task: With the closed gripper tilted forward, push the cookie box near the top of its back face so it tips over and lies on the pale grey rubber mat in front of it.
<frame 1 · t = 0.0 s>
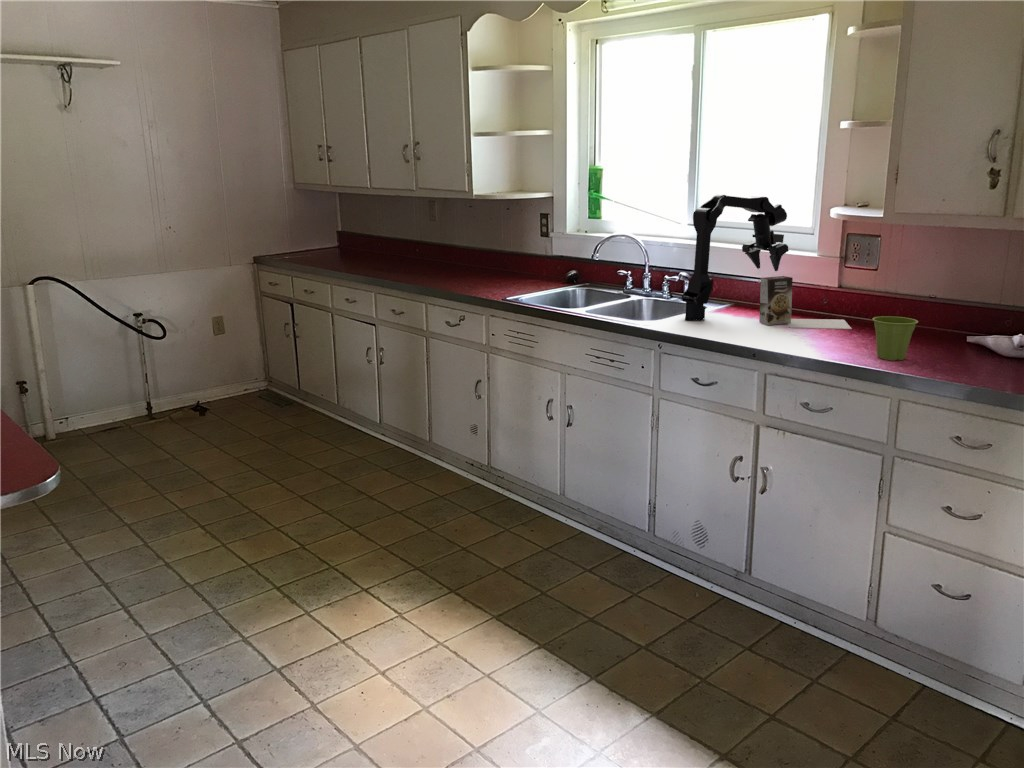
hand: (767, 269, 309), 15 cm above the counter, tool pointing down, fingers open, 9 cm apart
plant pot: (891, 358, 234), on the counter
mat: (817, 324, 284), on the counter
cookie box: (775, 323, 287), on the counter, touching mat
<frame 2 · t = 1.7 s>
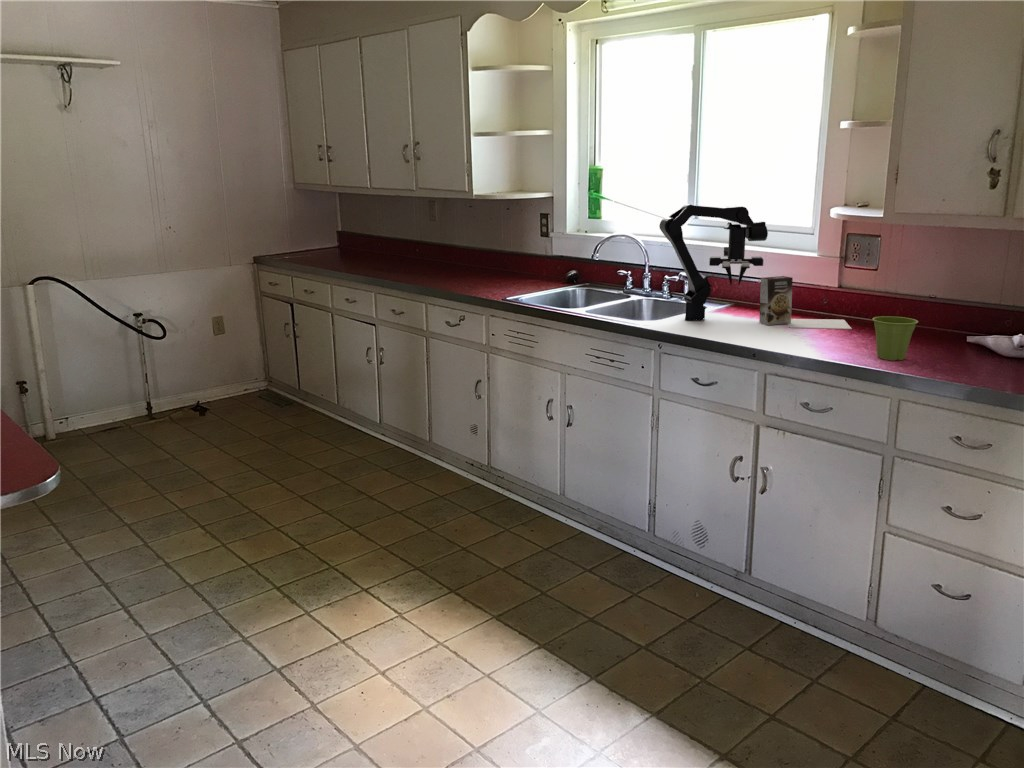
hand: (734, 285, 296), 12 cm above the counter, tool pointing down, fingers closed
nothing on the counter moved.
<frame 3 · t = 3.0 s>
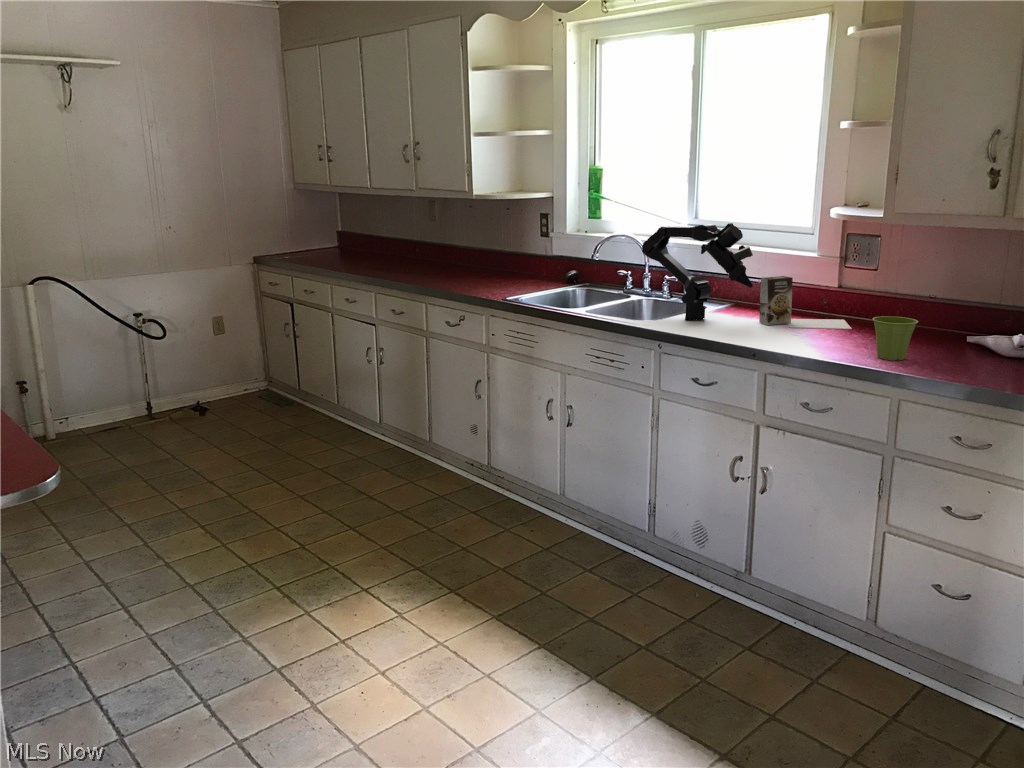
hand: (752, 286, 286), 13 cm above the counter, tool tilted 45°, fingers closed
nothing on the counter moved.
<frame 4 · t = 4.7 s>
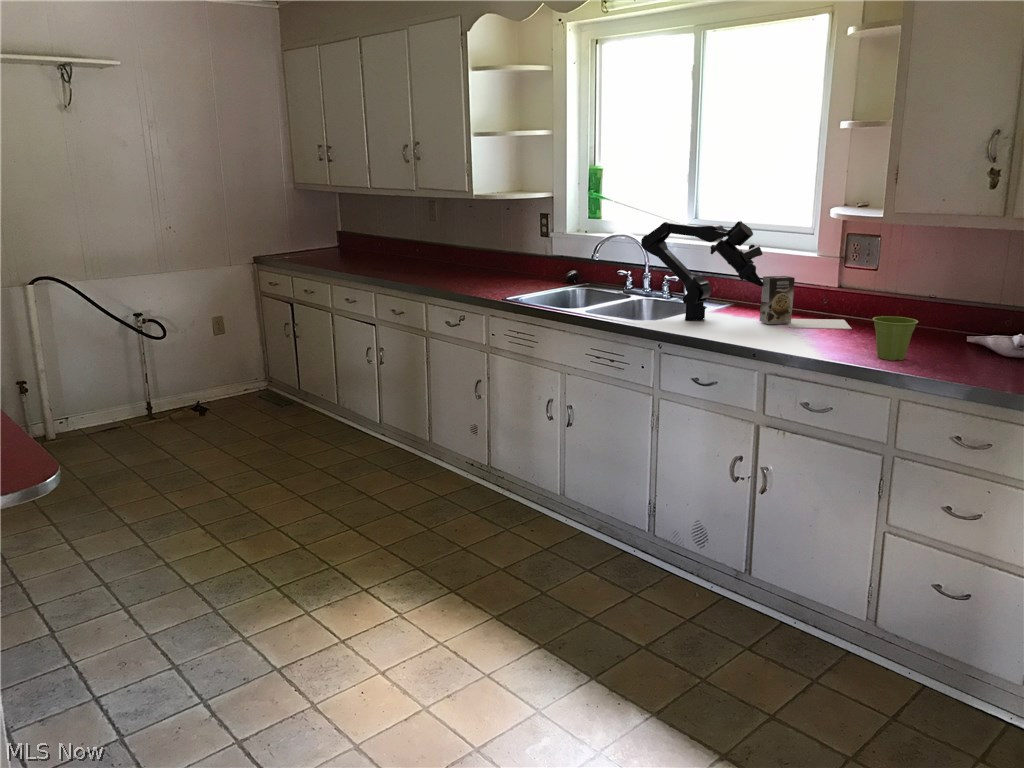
hand: (762, 285, 284), 13 cm above the counter, tool tilted 45°, fingers closed
cookie box: (775, 322, 287), on the counter, touching mat
everything else where it was.
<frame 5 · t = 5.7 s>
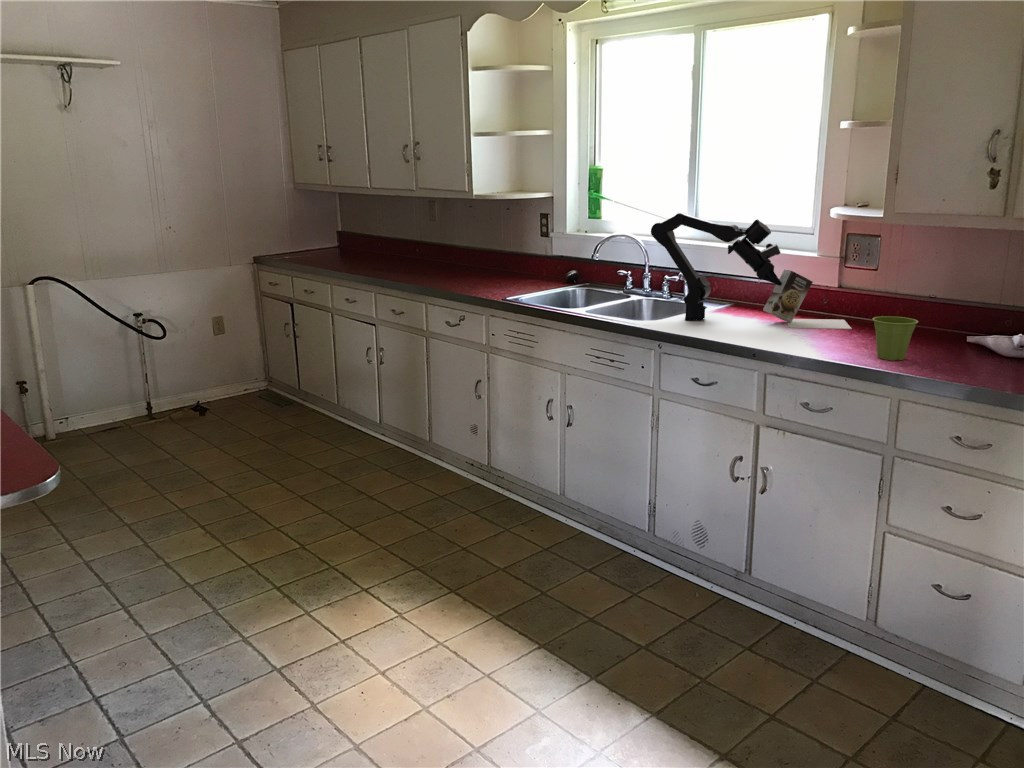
hand: (780, 284, 283), 14 cm above the counter, tool tilted 45°, fingers closed
cookie box: (776, 317, 286), point 2 cm above the counter, touching gripper, mat
everything else where it was.
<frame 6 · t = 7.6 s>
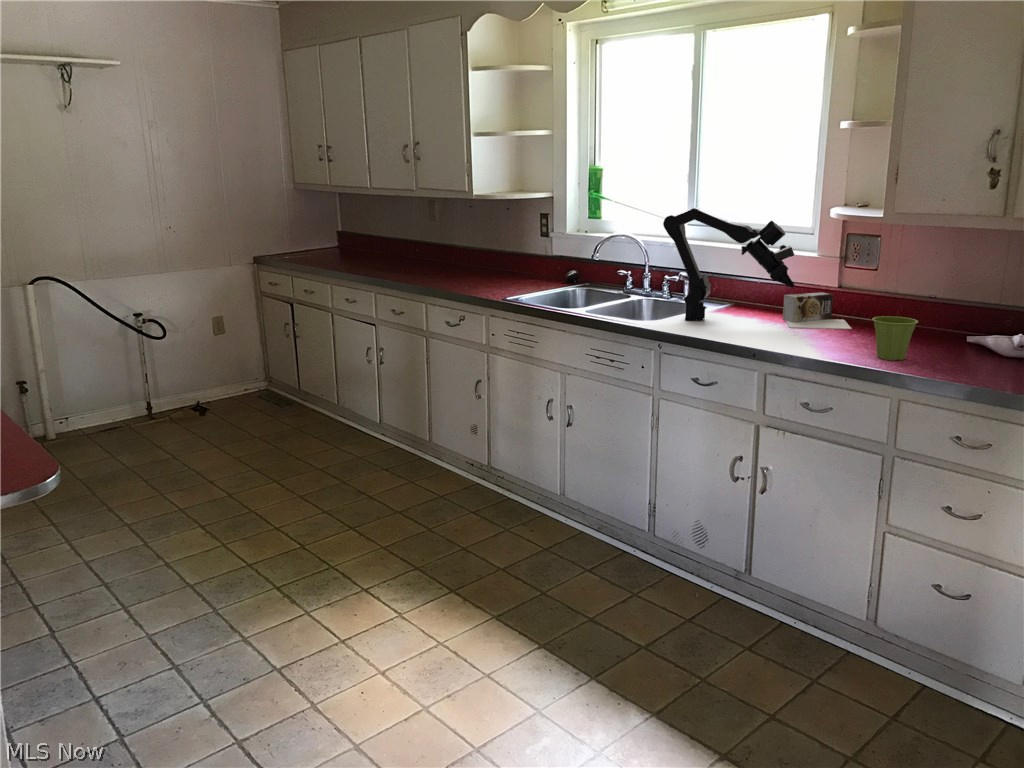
hand: (793, 286, 282), 13 cm above the counter, tool tilted 45°, fingers closed
cookie box: (787, 308, 288), point 5 cm above the counter, touching mat
everything else where it was.
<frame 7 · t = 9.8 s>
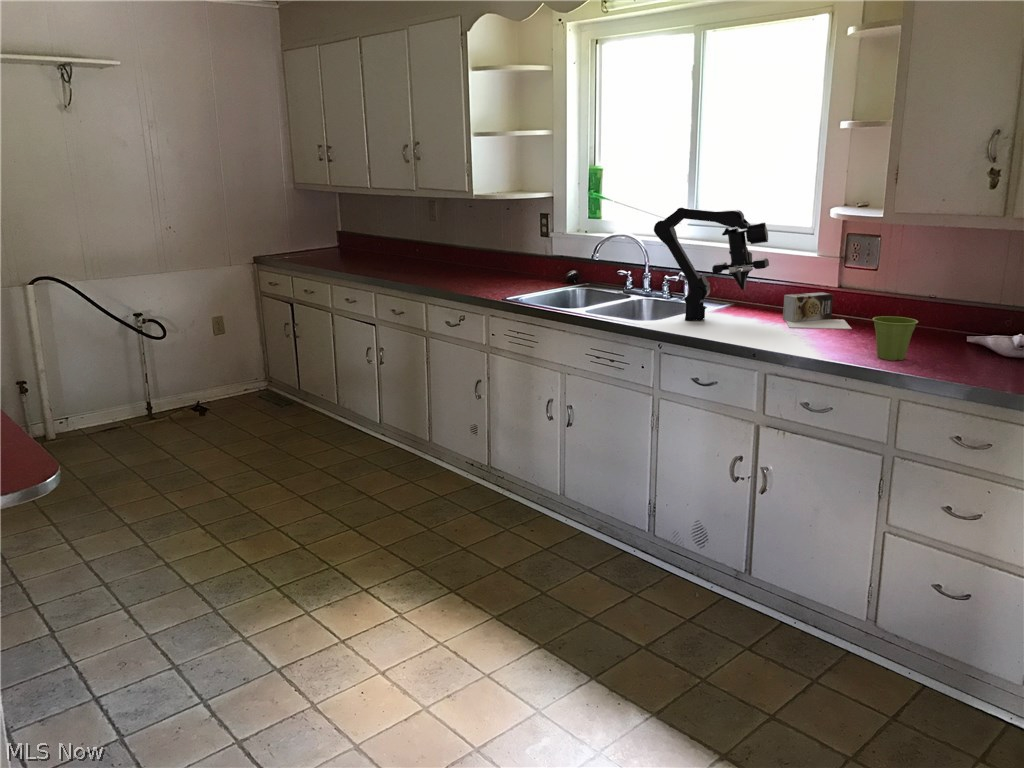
hand: (743, 289, 289), 11 cm above the counter, tool pointing down, fingers closed
nothing on the counter moved.
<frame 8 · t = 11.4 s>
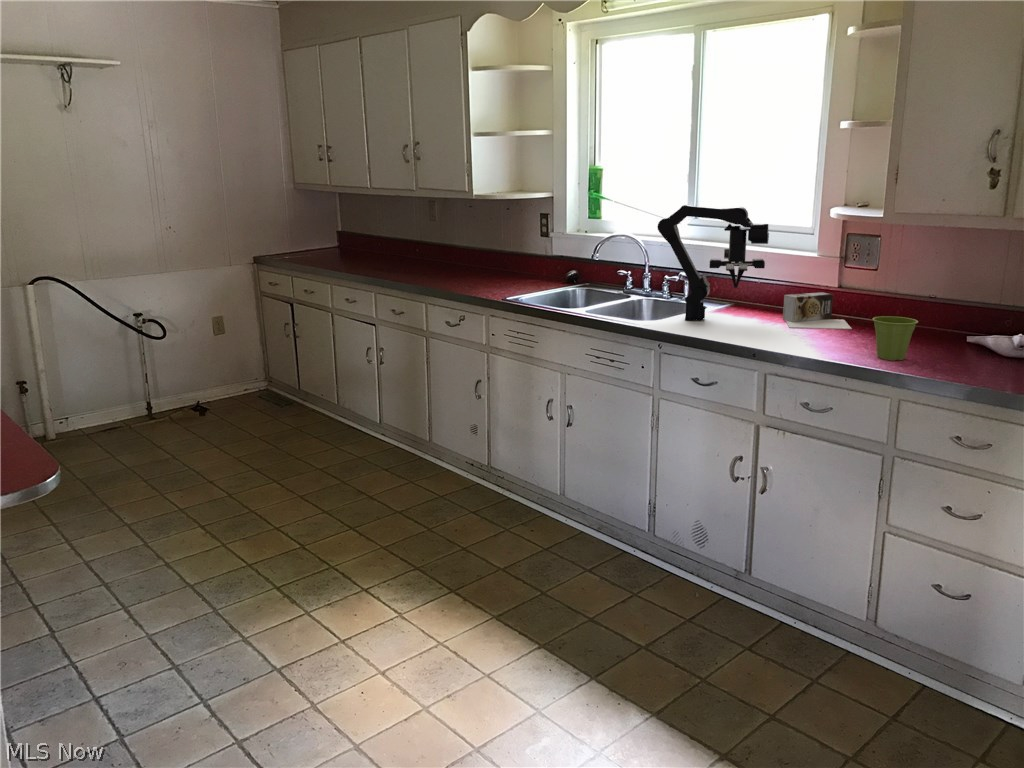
hand: (735, 287, 290), 12 cm above the counter, tool pointing down, fingers closed
nothing on the counter moved.
at the end: cookie box tilted 90°; cookie box inside the target area (4.8 cm from its centre), point 4.7 cm above the counter; cookie box touching mat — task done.
